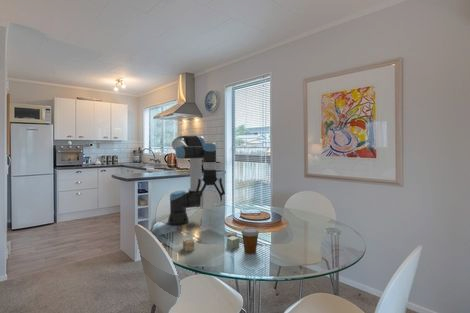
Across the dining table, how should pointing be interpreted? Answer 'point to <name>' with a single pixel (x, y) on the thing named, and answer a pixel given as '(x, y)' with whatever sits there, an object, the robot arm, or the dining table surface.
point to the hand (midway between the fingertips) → (210, 206)
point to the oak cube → (188, 244)
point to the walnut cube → (232, 234)
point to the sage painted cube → (232, 242)
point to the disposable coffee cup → (250, 239)
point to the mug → (209, 199)
